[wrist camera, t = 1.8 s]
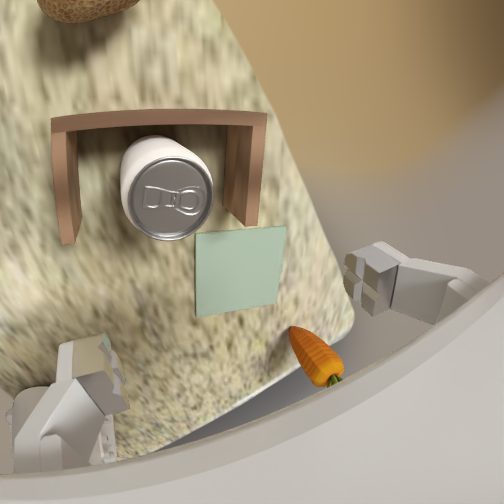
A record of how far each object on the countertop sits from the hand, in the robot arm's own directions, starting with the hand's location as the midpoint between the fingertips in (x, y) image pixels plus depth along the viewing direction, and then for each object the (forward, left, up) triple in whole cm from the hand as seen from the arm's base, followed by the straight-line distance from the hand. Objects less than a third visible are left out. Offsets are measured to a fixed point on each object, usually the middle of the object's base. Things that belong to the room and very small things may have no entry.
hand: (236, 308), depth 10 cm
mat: (-13, -10, -24) cm, 29 cm away
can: (0, 0, -24) cm, 24 cm away
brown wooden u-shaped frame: (+1, 0, -24) cm, 24 cm away
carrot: (-24, -19, -24) cm, 39 cm away
